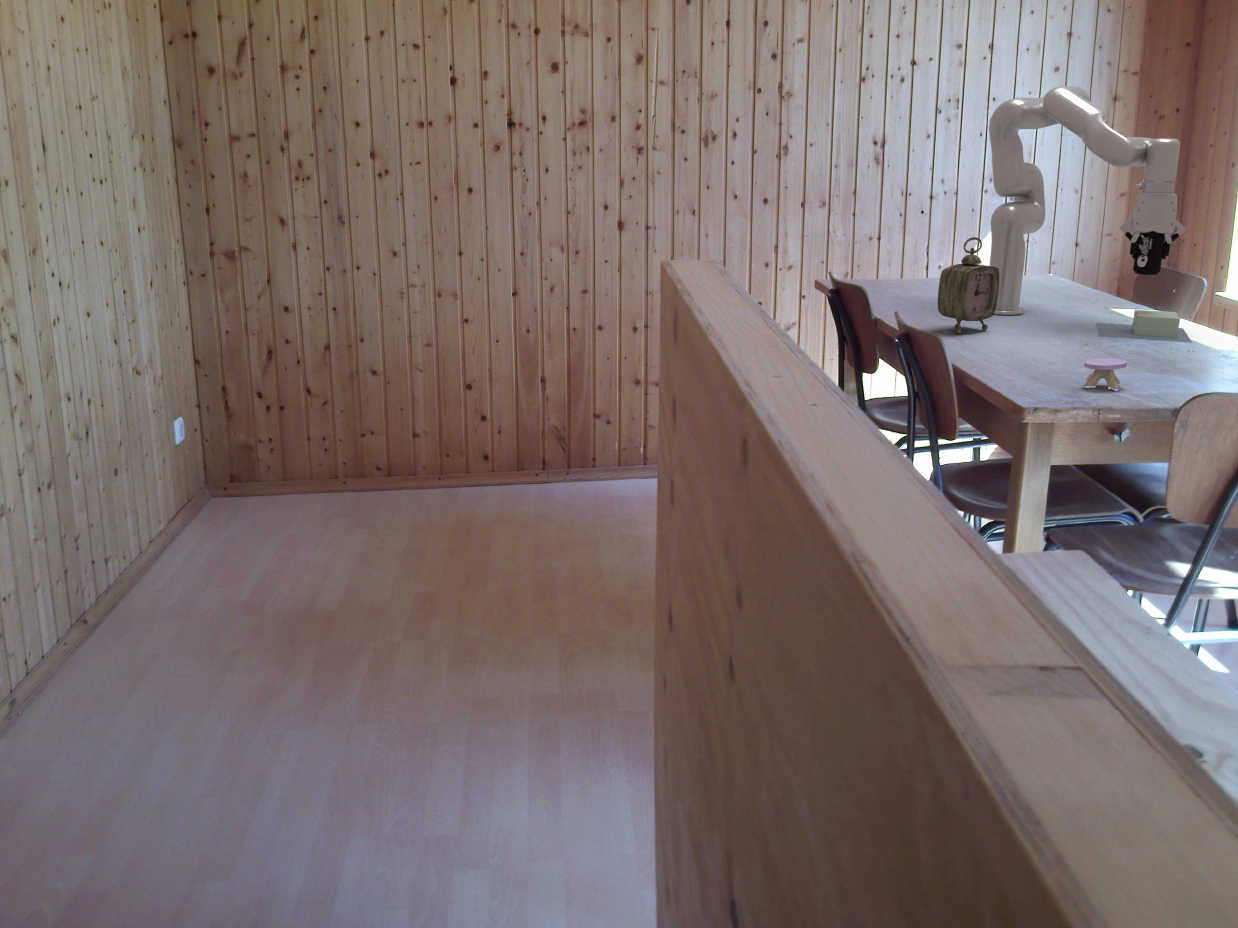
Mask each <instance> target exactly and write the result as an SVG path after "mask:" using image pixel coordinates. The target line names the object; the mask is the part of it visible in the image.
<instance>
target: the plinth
mask: <svg viewBox="0 0 1238 928" xmlns="http://www.w3.org/2000/svg"><path fill="white" fill-rule="evenodd" d="M1180 320H1181V318H1180V317H1179V314H1178V313H1177V312H1176V311H1159V310H1145V309H1134V313H1133V320H1132V325H1133V326H1132V329H1133V331H1134V334H1135V335H1142V336H1157V337H1173V338H1177V335H1178V328H1180V322H1181V321H1180Z"/></svg>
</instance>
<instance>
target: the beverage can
mask: <svg viewBox="0 0 1238 928" xmlns="http://www.w3.org/2000/svg"><path fill="white" fill-rule="evenodd" d="M1137 243H1138V244H1137V252H1136V258H1133V266H1132V271H1133V272H1134V274H1136V275H1142V276H1143V275H1144V276H1155V275H1158V274H1159V273H1161V270H1162V269H1161V268H1162V261H1163V259H1162V255H1163V248H1164V243H1165V234H1161V233H1158V232H1155V231H1150V232H1146V233H1140V235H1139V237H1138V239H1137Z"/></svg>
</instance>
